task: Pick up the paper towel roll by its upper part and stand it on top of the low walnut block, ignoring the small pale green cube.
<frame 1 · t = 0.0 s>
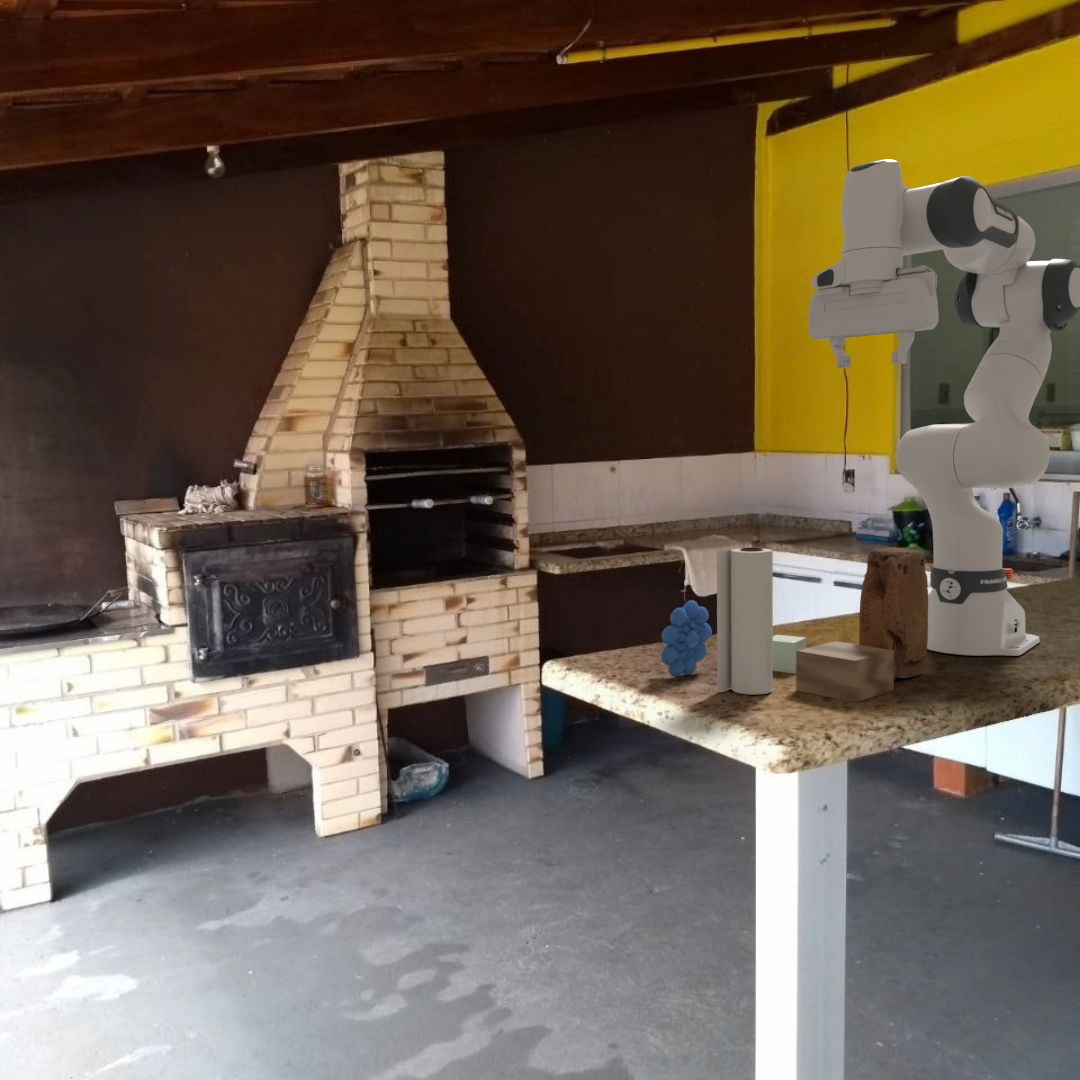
hand: (870, 365, 158), 48 cm above the counter, fingers open, 8 cm apart
paper towel roll: (748, 691, 157), on the counter
grapes: (682, 675, 168), on the counter
walnut block: (844, 690, 156), on the counter
green cube: (785, 668, 171), on the counter
block: (892, 677, 164), on the counter
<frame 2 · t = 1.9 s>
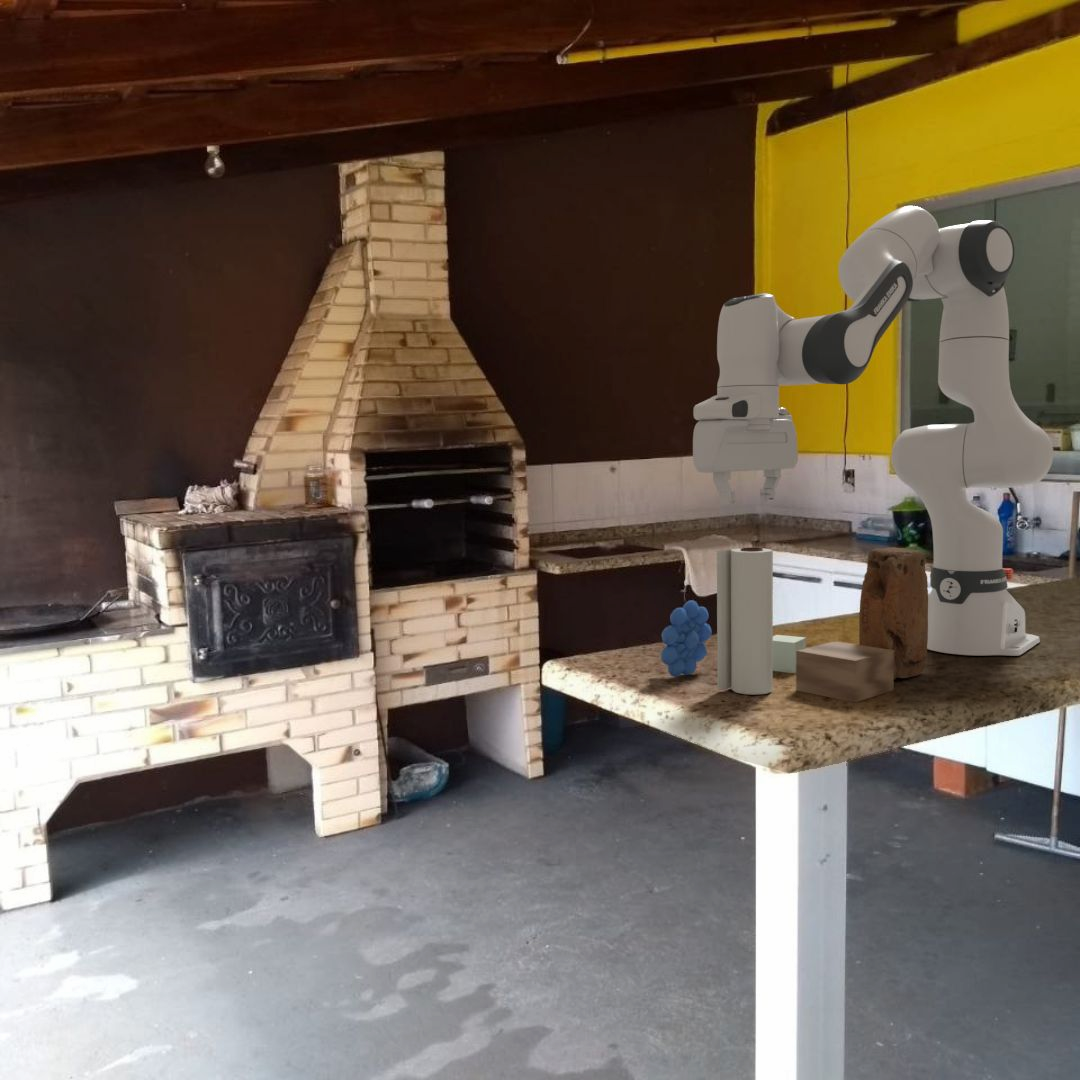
hand: (747, 502, 154), 28 cm above the counter, fingers open, 8 cm apart
nothing on the counter moved.
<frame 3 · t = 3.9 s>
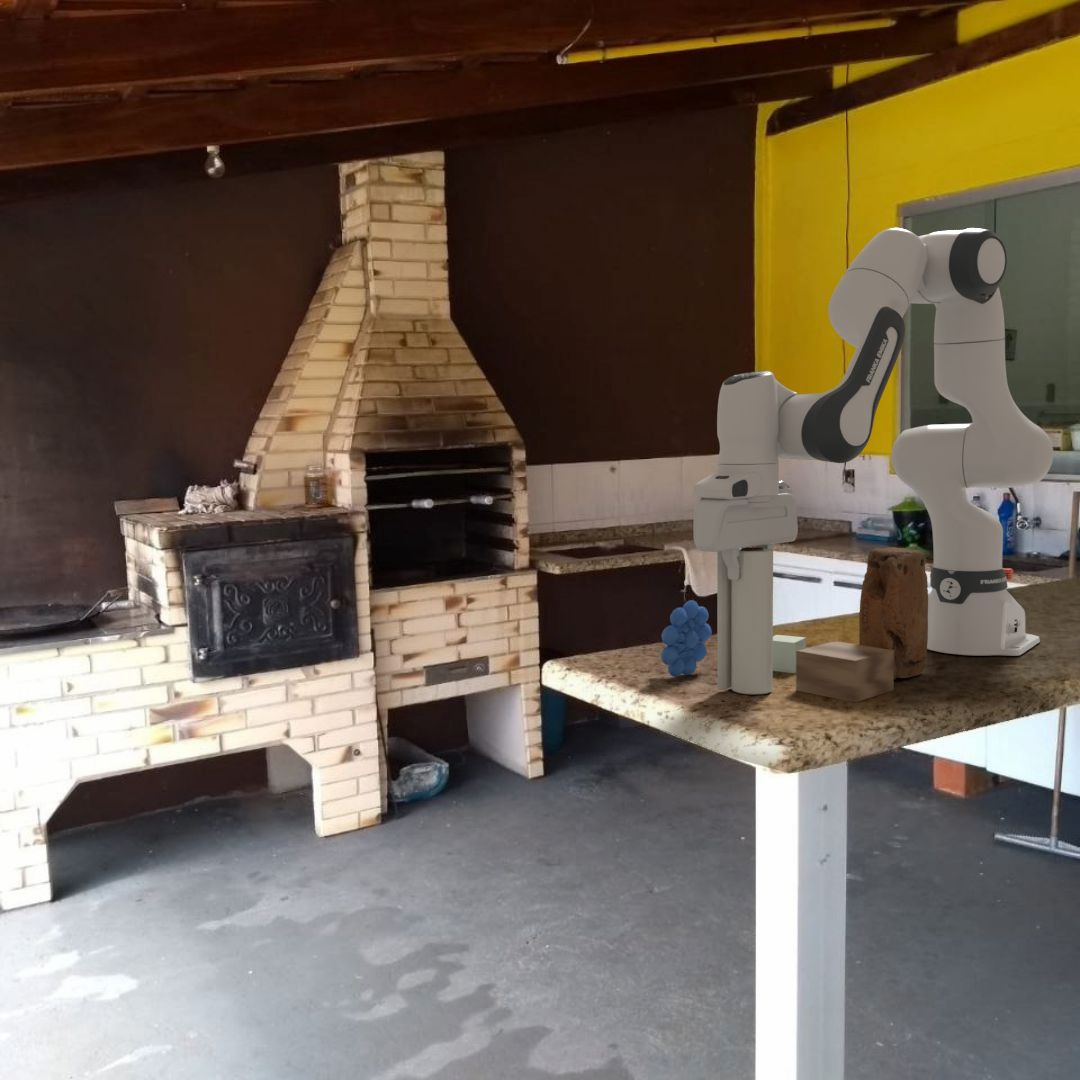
hand: (747, 577, 155), 17 cm above the counter, fingers closed on paper towel roll, 4 cm apart
paper towel roll: (748, 691, 157), on the counter, touching gripper
everything else where it was.
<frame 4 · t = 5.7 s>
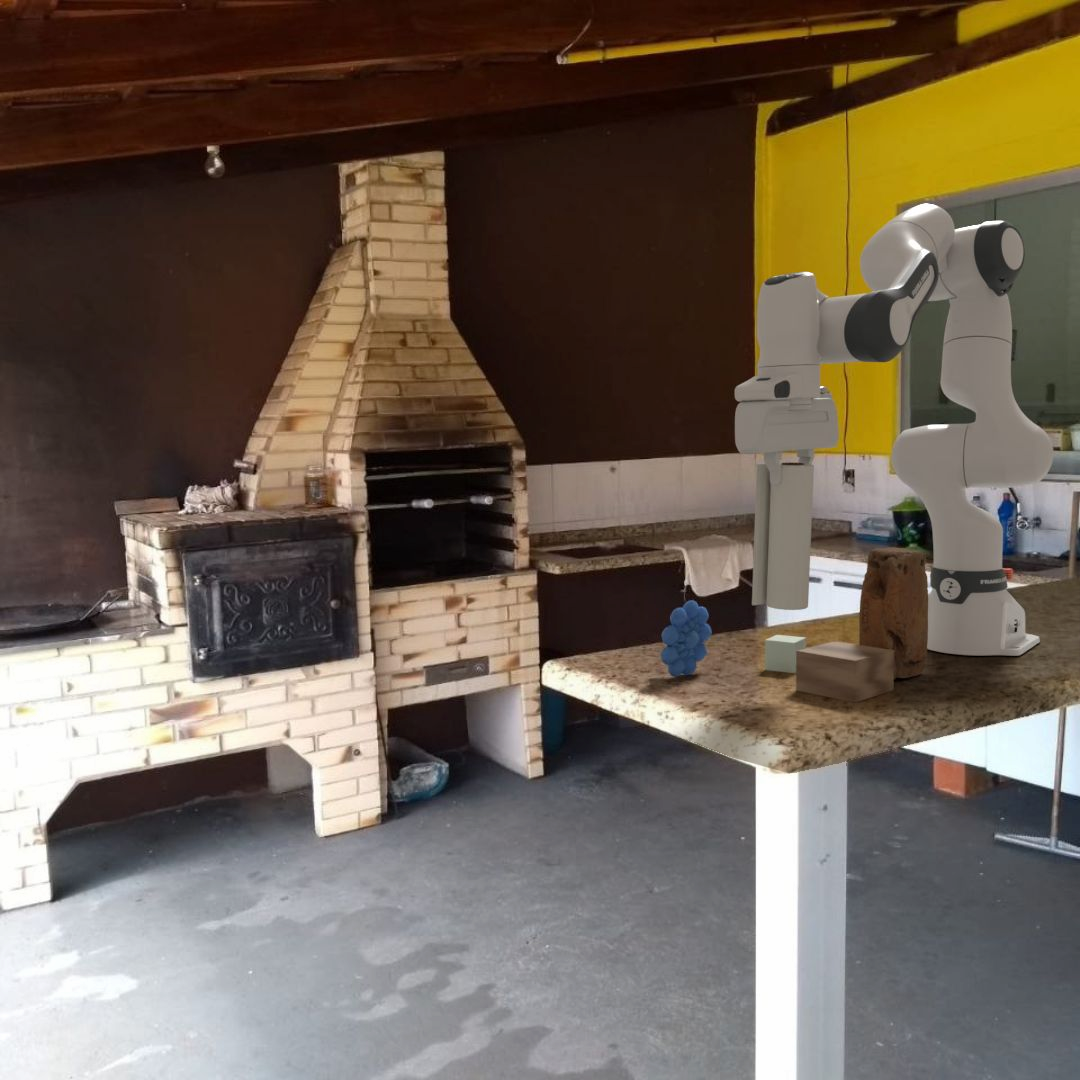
hand: (789, 482, 153), 31 cm above the counter, fingers closed on paper towel roll, 4 cm apart
paper towel roll: (783, 608, 156), point 12 cm above the counter, touching gripper
everything else where it was.
when the fingers open (25 cm above the counter, at t = 7.6 s): paper towel roll stays where it is, resting on walnut block.
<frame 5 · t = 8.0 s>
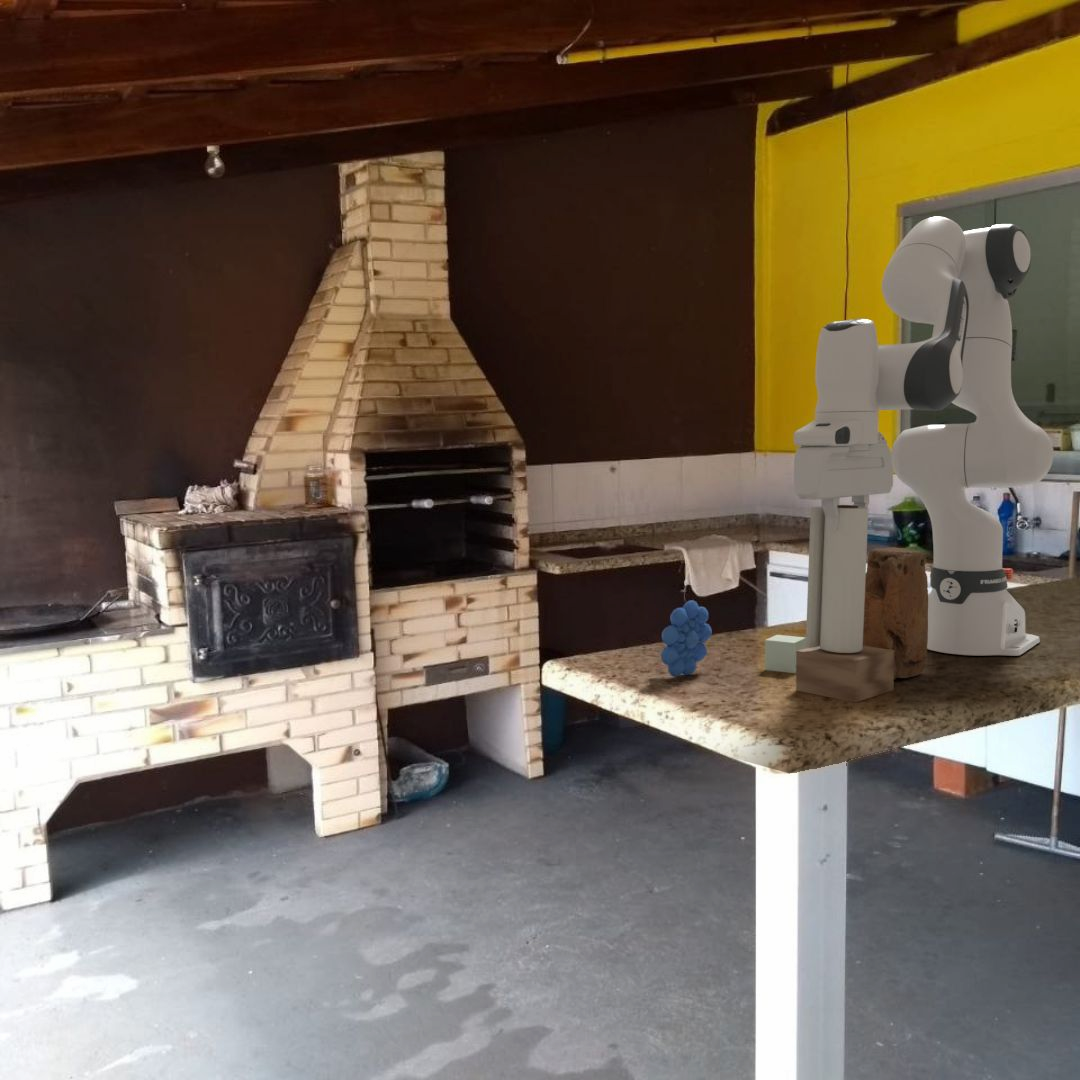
hand: (845, 527, 153), 24 cm above the counter, fingers open, 4 cm apart
paper towel roll: (837, 650, 155), point 6 cm above the counter, touching gripper, walnut block
everything else where it was.
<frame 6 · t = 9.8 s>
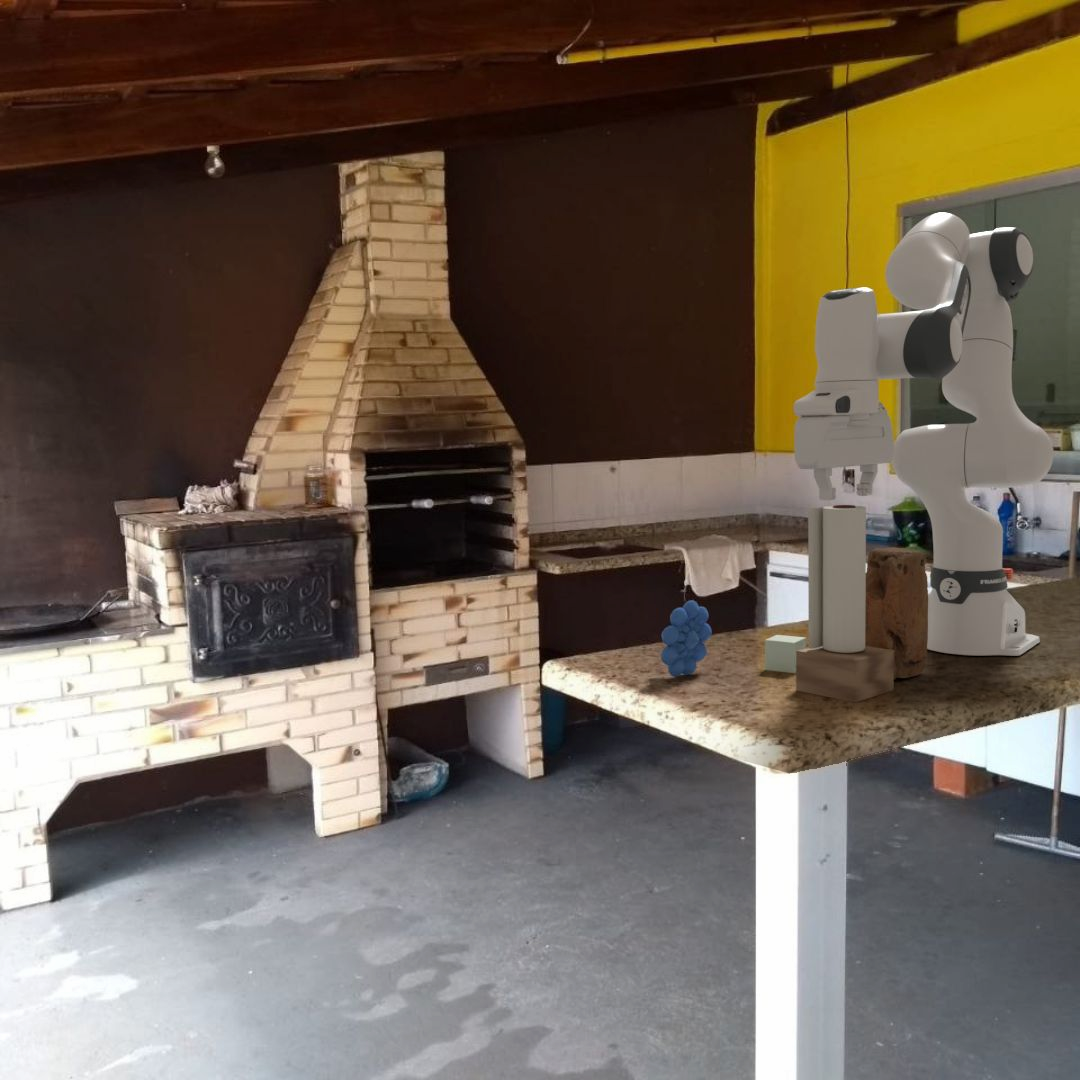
hand: (846, 497, 153), 29 cm above the counter, fingers open, 8 cm apart
paper towel roll: (840, 650, 156), point 6 cm above the counter, touching walnut block
everything else where it was.
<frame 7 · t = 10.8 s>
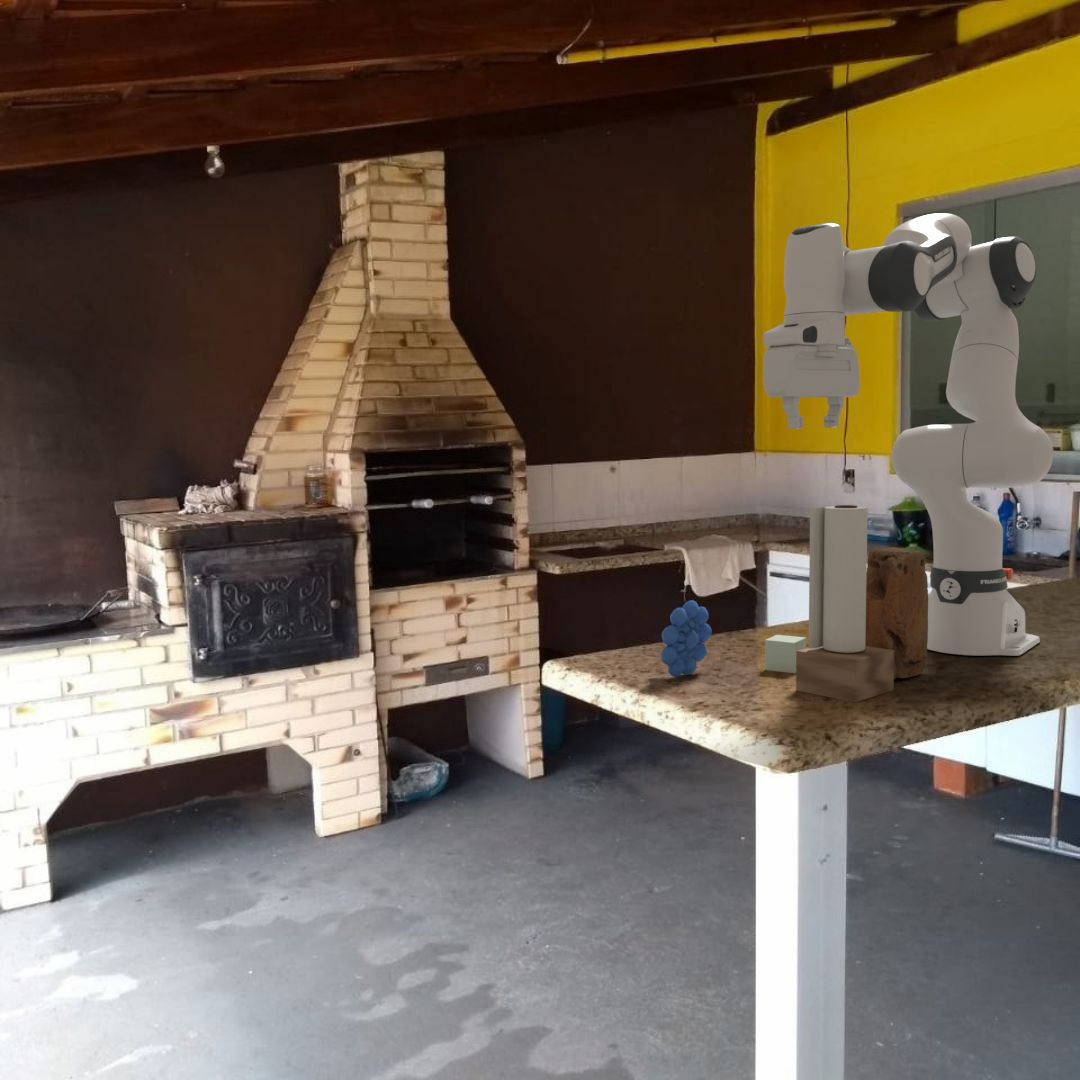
hand: (813, 428, 158), 39 cm above the counter, fingers open, 8 cm apart
nothing on the counter moved.
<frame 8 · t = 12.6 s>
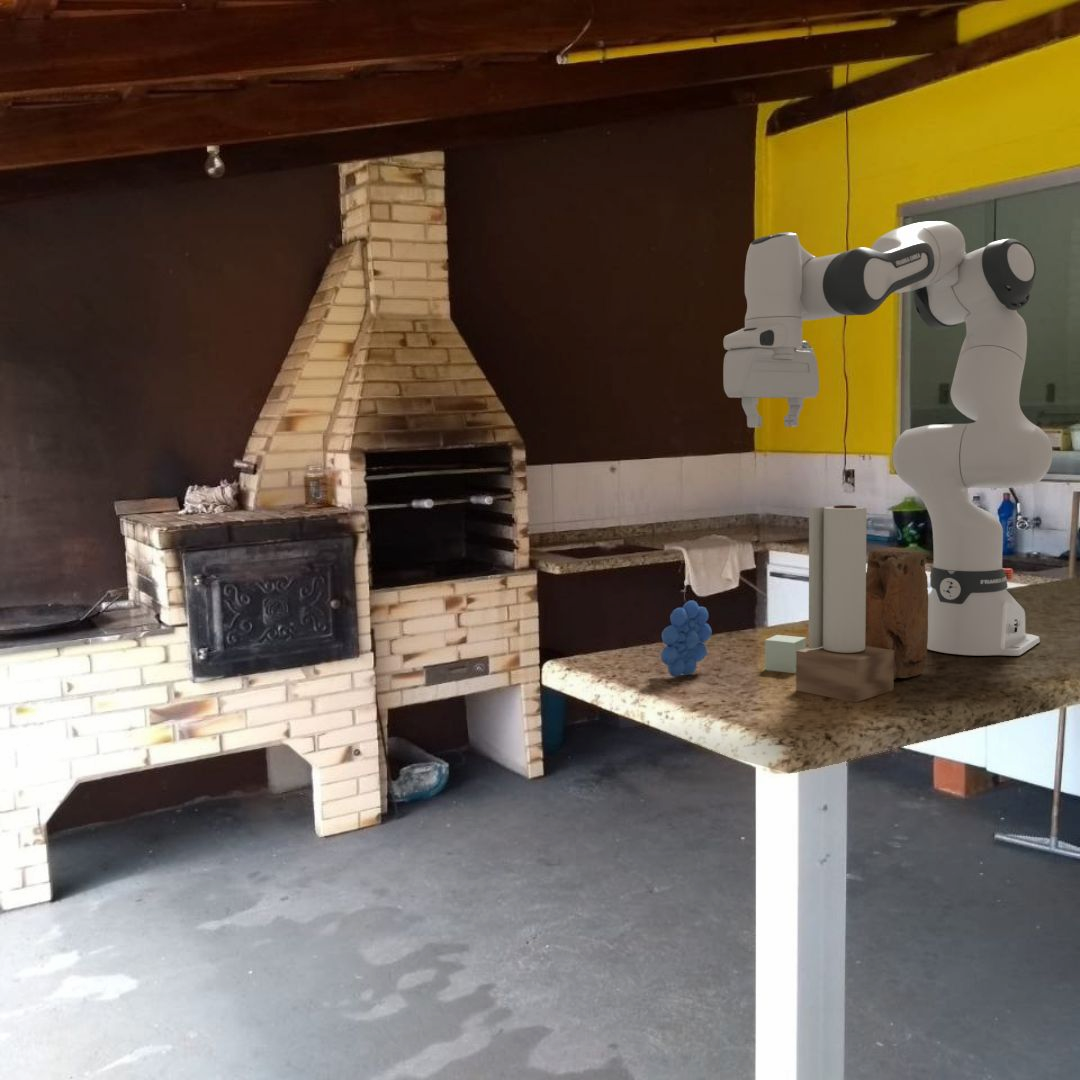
hand: (773, 427, 166), 39 cm above the counter, fingers open, 8 cm apart
nothing on the counter moved.
at the end: paper towel roll 0.9 cm from the walnut block (horizontally); paper towel roll touching walnut block; paper towel roll tilted 0° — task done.
